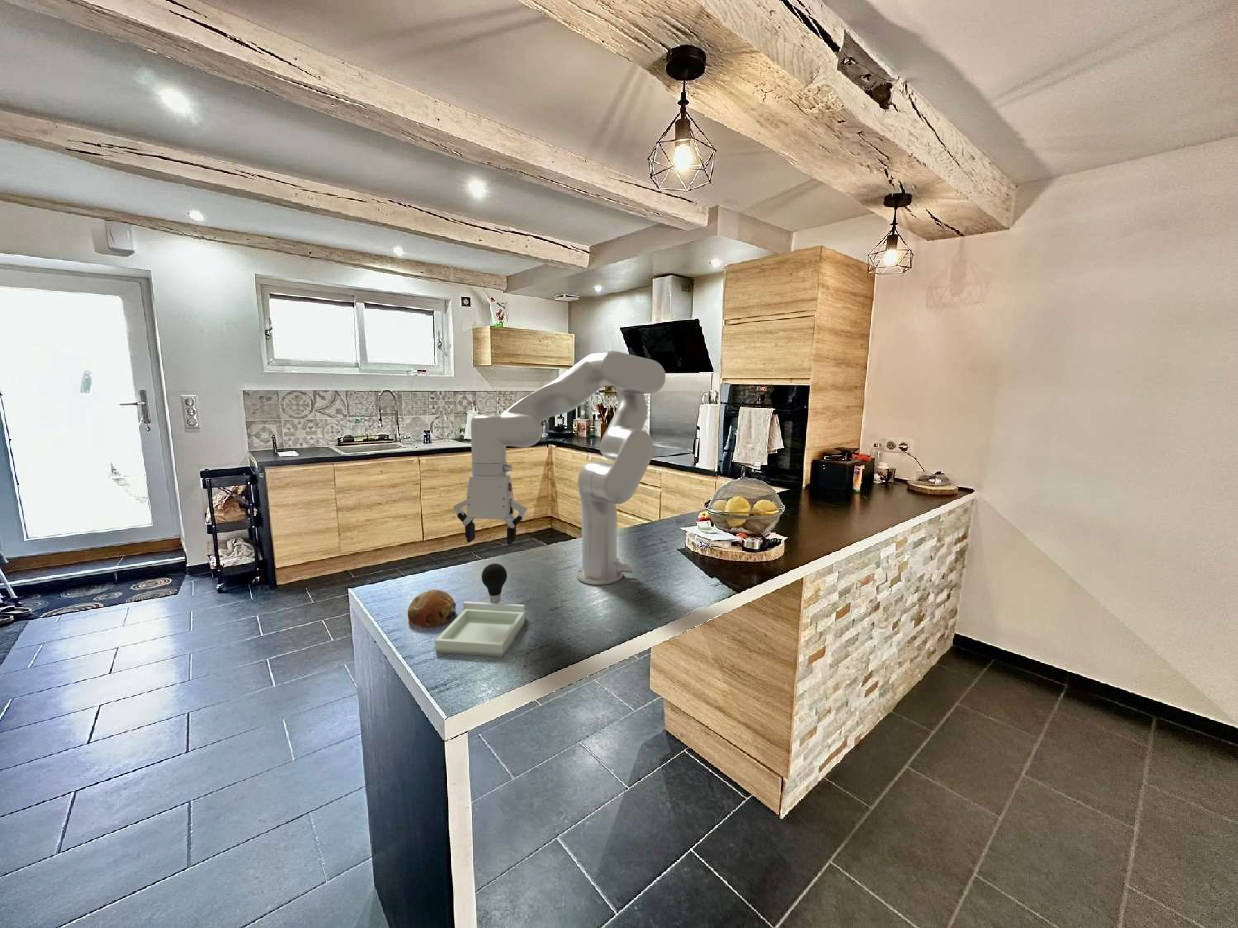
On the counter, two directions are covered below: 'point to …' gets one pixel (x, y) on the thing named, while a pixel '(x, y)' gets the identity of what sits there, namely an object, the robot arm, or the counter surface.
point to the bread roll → (431, 609)
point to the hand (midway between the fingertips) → (490, 541)
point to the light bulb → (494, 580)
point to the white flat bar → (494, 606)
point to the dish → (480, 633)
